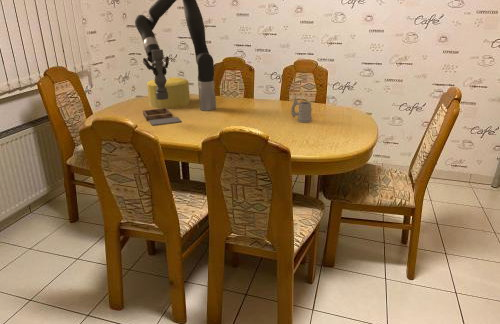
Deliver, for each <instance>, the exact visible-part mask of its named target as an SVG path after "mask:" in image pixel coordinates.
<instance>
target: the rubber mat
mask: <svg viewBox="0 0 500 324" xmlns="http://www.w3.org/2000/svg"><path fill="white" fill-rule="evenodd" d="M148 122H149V125H151V127H154V126H161V125H169V124H177V123H182V120H181V119H180V118H179V116H172V117H170V118H162V119H153V120H149V121H148Z"/></svg>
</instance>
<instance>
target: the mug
mask: <svg viewBox="0 0 500 324" xmlns="http://www.w3.org/2000/svg"><path fill="white" fill-rule="evenodd" d="M291 105H292V106H291V109H290V114H291V116H292V118H293V119H294V118H295V117H297V121H298V122H299V123H302V124H303V123H304V124H307V123H311V122H312V120H313V116H312V109H313V108H312V102H310V101H300V102H298V100H297V98H296V97H294V98H293V103H292V104H291ZM296 106H298V111H297V112H296V110H295V109H296Z"/></svg>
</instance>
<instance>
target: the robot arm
mask: <svg viewBox="0 0 500 324" xmlns="http://www.w3.org/2000/svg"><path fill="white" fill-rule="evenodd" d="M176 1H177V0H156V1H155V2H154V3H153V4H152V5H151V6H150V7H149V9H148V10H147V12H148V14H149V16H148V17H146V15H143V14H138V15H137V16H136V17H135V19H134V25H135V27H136V30H137V31H138V33H139V35H140V37H141V40H142V43H143V49H144V51H145V54H146V57H147V58H146V57H143V59H142V64H144V65H145V66H146V68H147V70H152V73H153V76H154V77H155V76H157V71H156V68H155V65H154V64H153V62H154V59H153V57H152V51H151V50H157V49H161V48H160V45H159V42H158V40H157V37H156V35H155V33H154V32H153V31H154V29H155V26H156V25H157V24H158V21H159V20H160V19H161V17H163V16H164V14H165V13H167V12H168V11H169V9H171V7H172V6H173V5H174V4H175V2H176ZM182 3H183V10H184V17H185V21H186V25H187V30H188V33H189V36H190V39H191V42H192V44H193V48H194V49H193V50H194V53H195V54H194V55H195V62H196V64H197V74H198V75H197V83H198V101H199V110H201V111H208V112H209V111H214V110H217V103H216V102H217V101H216V99H217V97H216V93H215V84H214V83H215V81H214V77H215V69H214V68H215V65H214V62H215V61H214V58H213V56H212V55H211V54H210V52H209V49H208V47H207V43H206V42H207V41H206V29H205V23H204V20H203V16H202V15H203V14H202V12H201V10H200V7H199V4H198V3H197V0H182ZM162 61H163V62H165V63H163V72H164V75H165V76H166V75H167V69H168V67H169V56H163V59H162Z"/></svg>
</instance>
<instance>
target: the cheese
mask: <svg viewBox="0 0 500 324" xmlns="http://www.w3.org/2000/svg"><path fill="white" fill-rule="evenodd" d="M154 80H155V78H153V79H151V80H149V81H147V83H146V85H147V95H148V96H147V97H148V103H149V104H148V105H149V106H150V107H151V108H154V109H162V108H167V109H174V108H181V107H185V106H188V105H189V104H190V103H191V100H190V99H191V96H190V87H189V85H190V83H189V80H188V79H185V78H182V77H173V76H170V77H168V79H166V84H165V87H166V89H167V90H166V91H167V92H168V99H165V100H158V99H156V92H157V91H156V89H157V85H156V84H155V81H154Z"/></svg>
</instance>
